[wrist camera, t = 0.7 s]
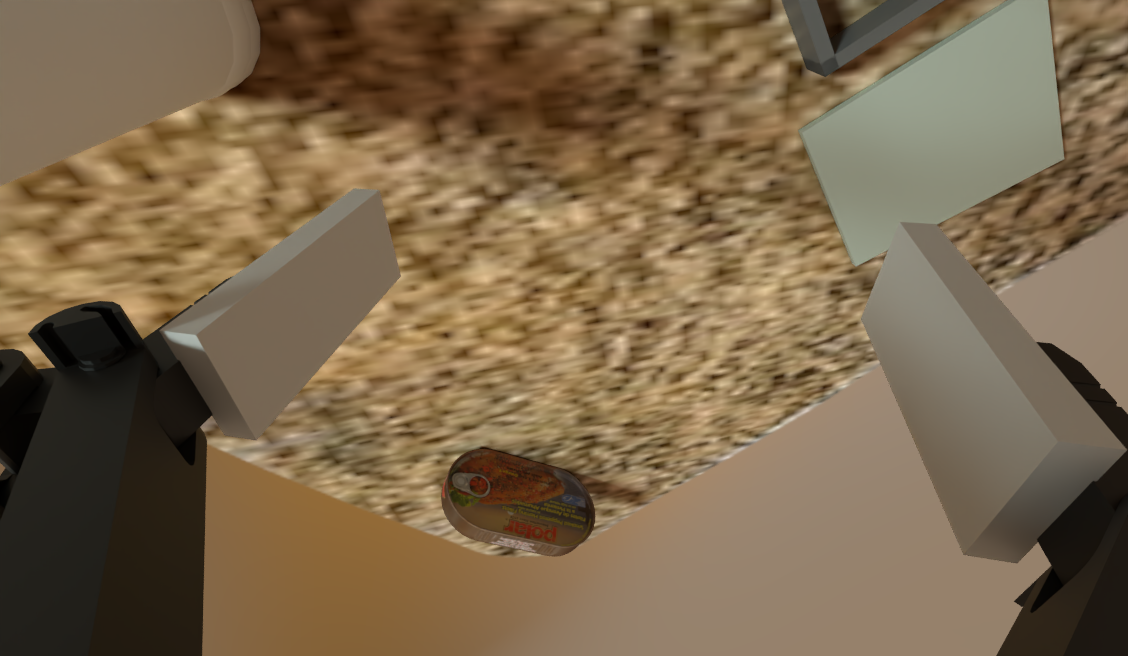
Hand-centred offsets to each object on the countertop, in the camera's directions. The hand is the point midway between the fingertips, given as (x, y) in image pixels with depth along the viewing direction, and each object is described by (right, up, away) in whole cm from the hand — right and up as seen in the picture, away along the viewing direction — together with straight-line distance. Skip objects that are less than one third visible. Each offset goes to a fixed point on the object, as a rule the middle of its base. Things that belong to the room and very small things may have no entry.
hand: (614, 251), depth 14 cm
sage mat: (+23, +10, +21) cm, 32 cm away
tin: (-6, -16, +39) cm, 42 cm away
